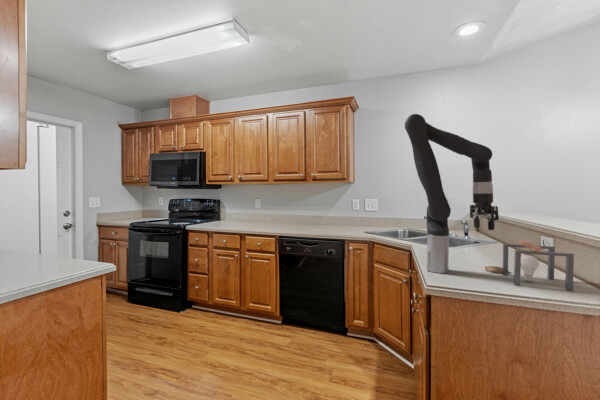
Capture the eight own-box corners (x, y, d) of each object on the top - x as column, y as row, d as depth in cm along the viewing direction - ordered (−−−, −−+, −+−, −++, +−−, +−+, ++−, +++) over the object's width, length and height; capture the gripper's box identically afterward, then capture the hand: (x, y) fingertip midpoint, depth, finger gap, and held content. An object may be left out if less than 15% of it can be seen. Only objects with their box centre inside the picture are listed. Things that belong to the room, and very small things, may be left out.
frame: (515, 285, 112) (516, 250, 111) (502, 274, 127) (503, 243, 126) (572, 291, 105) (573, 254, 105) (552, 278, 120) (552, 246, 120)
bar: (534, 251, 109) (534, 247, 109) (519, 244, 124) (519, 240, 124) (540, 251, 108) (541, 247, 108) (524, 244, 123) (524, 240, 123)
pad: (487, 272, 129) (487, 270, 129) (482, 267, 138) (482, 265, 137) (511, 274, 126) (511, 272, 126) (504, 269, 134) (504, 267, 134)
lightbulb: (542, 284, 113) (542, 257, 113) (524, 283, 114) (524, 256, 114) (532, 279, 119) (533, 254, 119) (515, 278, 120) (516, 253, 120)
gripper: (463, 192, 130) (465, 227, 131) (486, 192, 116) (487, 231, 117) (479, 192, 131) (480, 226, 131) (503, 191, 117) (504, 230, 117)
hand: (483, 228), depth 124 cm, fingers open, 8 cm apart
